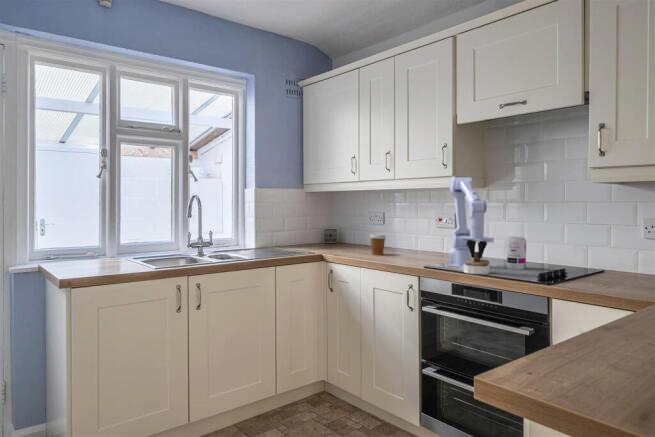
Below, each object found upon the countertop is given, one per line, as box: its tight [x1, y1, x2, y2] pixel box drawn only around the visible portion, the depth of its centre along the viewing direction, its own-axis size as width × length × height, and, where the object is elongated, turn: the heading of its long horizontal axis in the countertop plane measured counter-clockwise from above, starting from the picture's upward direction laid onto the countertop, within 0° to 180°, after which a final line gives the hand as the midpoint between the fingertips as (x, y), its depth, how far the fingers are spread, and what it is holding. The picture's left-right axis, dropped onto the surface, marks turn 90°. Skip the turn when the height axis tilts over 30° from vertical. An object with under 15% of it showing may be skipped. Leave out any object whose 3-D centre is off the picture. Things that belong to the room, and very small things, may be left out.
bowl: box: [462, 264, 491, 275], centre depth 206 cm, size 11×11×4 cm
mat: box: [490, 267, 521, 275], centre depth 211 cm, size 14×10×1 cm
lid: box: [465, 251, 490, 266], centre depth 206 cm, size 10×10×5 cm
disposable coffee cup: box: [369, 233, 386, 256], centre depth 275 cm, size 10×10×12 cm
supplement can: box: [506, 236, 527, 270], centre depth 219 cm, size 8×8×15 cm
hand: (476, 257), depth 206 cm, fingers closed on lid, 3 cm apart
